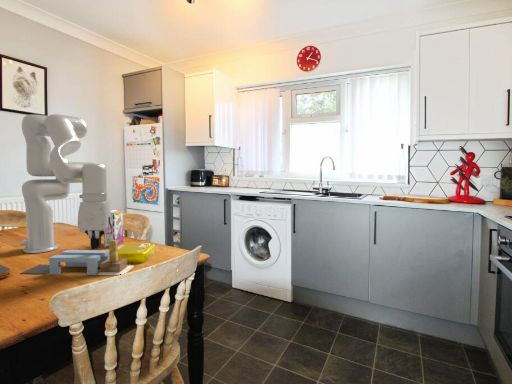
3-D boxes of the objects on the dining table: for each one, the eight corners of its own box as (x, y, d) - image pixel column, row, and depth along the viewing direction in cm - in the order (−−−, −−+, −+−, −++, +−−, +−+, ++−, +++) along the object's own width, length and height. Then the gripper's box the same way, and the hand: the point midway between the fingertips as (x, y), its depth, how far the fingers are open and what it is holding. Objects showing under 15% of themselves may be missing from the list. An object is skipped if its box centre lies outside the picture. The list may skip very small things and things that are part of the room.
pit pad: (20, 273, 100) (20, 273, 100) (39, 265, 109) (39, 264, 109) (46, 274, 100) (45, 273, 100) (63, 265, 109) (63, 264, 109)
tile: (97, 274, 100) (97, 273, 100) (110, 266, 109) (110, 265, 109) (123, 275, 100) (123, 274, 100) (134, 266, 109) (134, 265, 109)
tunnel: (49, 274, 100) (49, 257, 99) (67, 265, 109) (66, 249, 108) (95, 275, 100) (95, 258, 99) (109, 265, 109) (109, 250, 109)
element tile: (121, 253, 127) (121, 242, 126) (156, 252, 128) (155, 242, 128) (106, 264, 112) (105, 252, 112) (145, 263, 113) (145, 252, 113)
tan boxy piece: (100, 271, 102) (99, 242, 101) (108, 266, 107) (107, 238, 106) (120, 272, 102) (119, 242, 101) (127, 266, 107) (126, 238, 106)
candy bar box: (115, 247, 134) (114, 212, 132) (104, 247, 133) (102, 212, 132) (124, 241, 145) (123, 209, 144) (113, 241, 145) (112, 209, 143)
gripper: (67, 198, 98) (68, 250, 100) (110, 200, 99) (111, 252, 100) (80, 196, 106) (81, 244, 108) (120, 197, 106) (121, 246, 108)
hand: (95, 248), depth 104 cm, fingers closed
